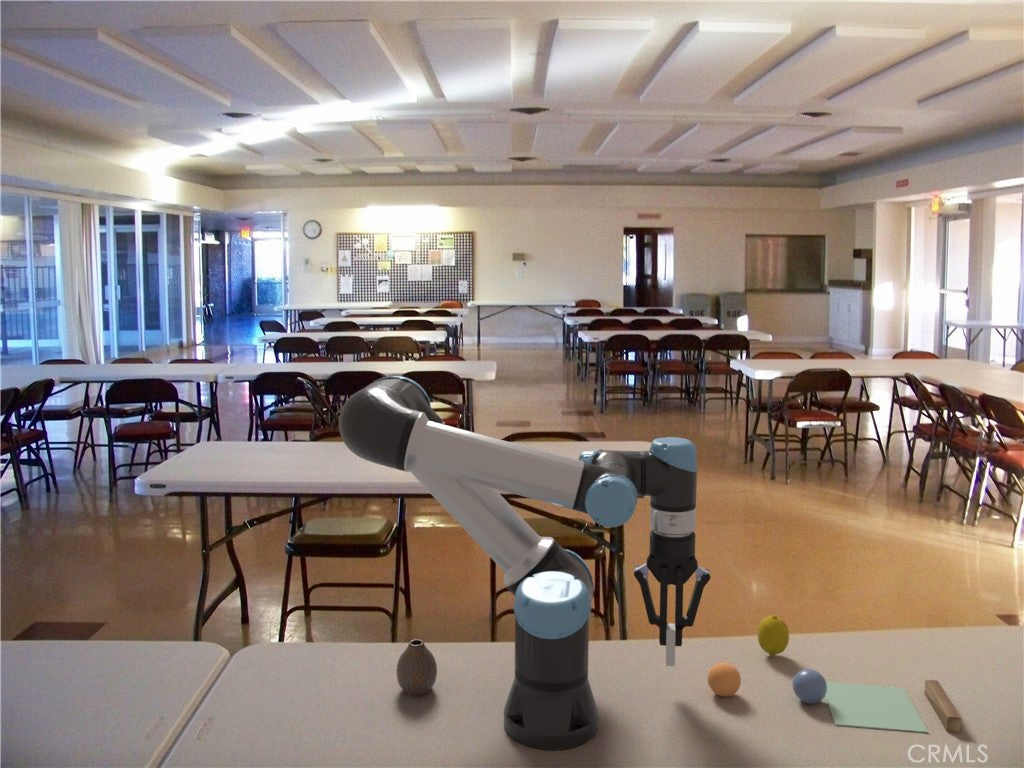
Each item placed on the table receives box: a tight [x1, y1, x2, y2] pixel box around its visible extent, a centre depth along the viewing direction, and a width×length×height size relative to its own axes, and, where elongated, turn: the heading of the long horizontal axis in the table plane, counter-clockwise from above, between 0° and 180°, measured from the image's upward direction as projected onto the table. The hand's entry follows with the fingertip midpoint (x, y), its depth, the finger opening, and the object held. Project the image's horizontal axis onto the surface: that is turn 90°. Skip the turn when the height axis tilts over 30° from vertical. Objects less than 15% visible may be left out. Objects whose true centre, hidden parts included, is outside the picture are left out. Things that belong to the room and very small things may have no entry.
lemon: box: [757, 614, 790, 657], centre depth 165 cm, size 6×6×8 cm
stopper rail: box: [923, 679, 962, 733], centre depth 146 cm, size 2×12×2 cm, turn 171°
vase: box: [396, 639, 438, 697], centre depth 152 cm, size 7×7×9 cm
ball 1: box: [707, 662, 742, 698], centre depth 151 cm, size 6×6×6 cm
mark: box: [824, 681, 929, 734], centre depth 148 cm, size 14×14×1 cm
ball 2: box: [792, 668, 827, 704], centre depth 149 cm, size 6×6×6 cm
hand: (670, 662), depth 152 cm, fingers closed
